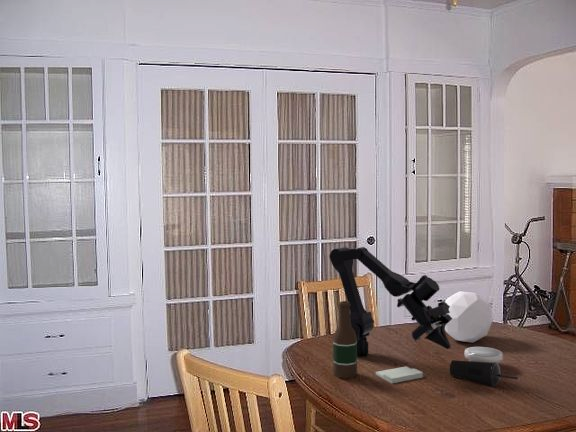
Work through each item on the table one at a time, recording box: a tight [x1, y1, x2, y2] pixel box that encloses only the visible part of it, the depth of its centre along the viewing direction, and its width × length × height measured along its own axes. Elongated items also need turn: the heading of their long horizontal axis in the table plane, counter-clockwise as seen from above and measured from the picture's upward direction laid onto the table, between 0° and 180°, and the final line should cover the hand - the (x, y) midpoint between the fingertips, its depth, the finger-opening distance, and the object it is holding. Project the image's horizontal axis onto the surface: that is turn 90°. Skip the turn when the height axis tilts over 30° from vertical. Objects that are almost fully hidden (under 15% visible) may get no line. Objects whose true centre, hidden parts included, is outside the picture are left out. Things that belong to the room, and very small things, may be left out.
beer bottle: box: [332, 300, 358, 380], centre depth 182 cm, size 8×8×24 cm
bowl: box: [464, 346, 504, 364], centre depth 188 cm, size 12×12×5 cm
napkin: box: [375, 366, 424, 384], centre depth 181 cm, size 12×9×2 cm
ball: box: [444, 290, 494, 343], centre depth 217 cm, size 19×20×20 cm
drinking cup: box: [449, 359, 519, 388], centre depth 174 cm, size 8×8×20 cm
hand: (449, 348), depth 180 cm, fingers closed
